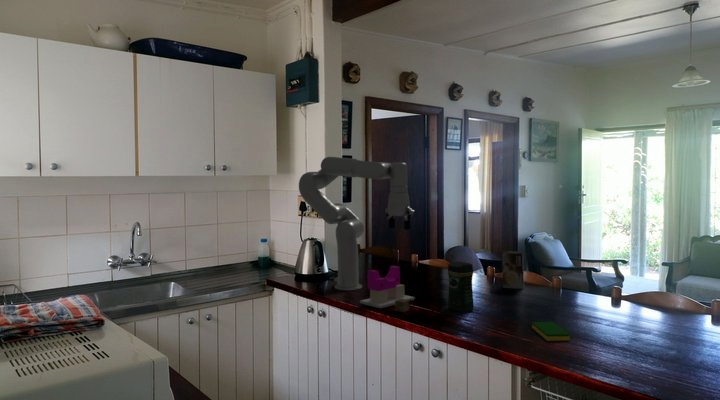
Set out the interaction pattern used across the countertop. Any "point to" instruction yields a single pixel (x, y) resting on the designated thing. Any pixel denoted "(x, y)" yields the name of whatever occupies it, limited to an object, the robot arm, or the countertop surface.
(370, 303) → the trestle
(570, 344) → the countertop surface
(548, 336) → the dish sponge
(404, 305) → the cube
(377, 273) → the toy block
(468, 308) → the coffee jar
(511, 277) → the coffee box
